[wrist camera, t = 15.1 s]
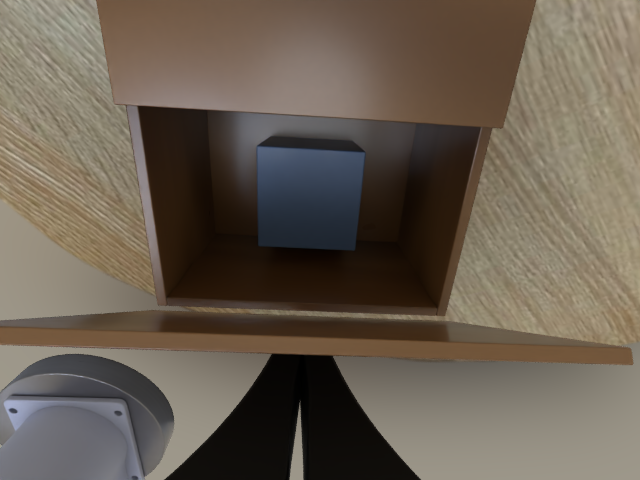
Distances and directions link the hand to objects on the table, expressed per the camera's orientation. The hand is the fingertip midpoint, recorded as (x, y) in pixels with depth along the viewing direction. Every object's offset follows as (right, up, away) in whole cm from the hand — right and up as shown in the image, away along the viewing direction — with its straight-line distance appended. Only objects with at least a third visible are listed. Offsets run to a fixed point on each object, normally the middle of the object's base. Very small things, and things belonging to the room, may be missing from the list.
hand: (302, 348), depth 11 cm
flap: (0, +2, -2) cm, 3 cm away
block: (0, +7, +7) cm, 10 cm away
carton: (0, +11, +6) cm, 12 cm away
